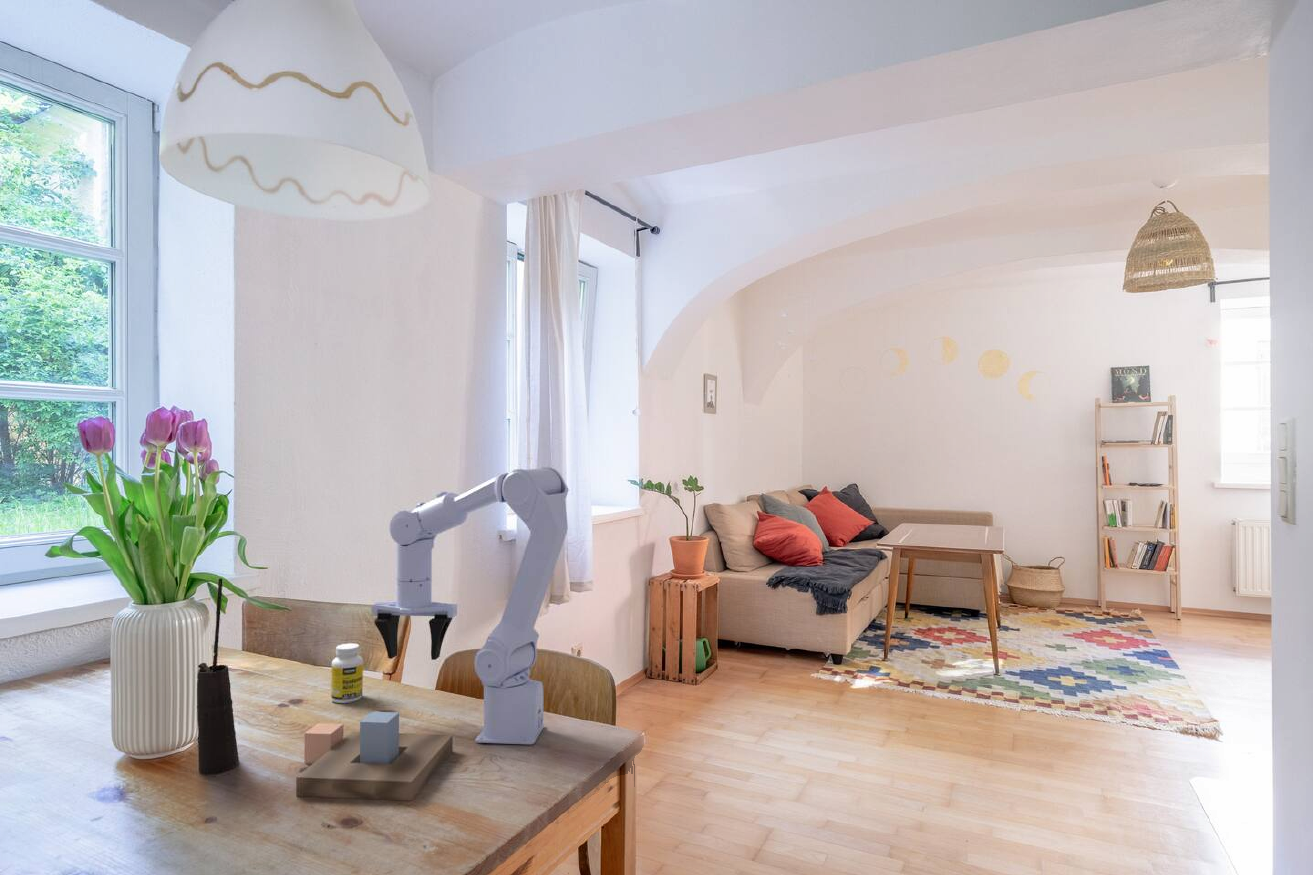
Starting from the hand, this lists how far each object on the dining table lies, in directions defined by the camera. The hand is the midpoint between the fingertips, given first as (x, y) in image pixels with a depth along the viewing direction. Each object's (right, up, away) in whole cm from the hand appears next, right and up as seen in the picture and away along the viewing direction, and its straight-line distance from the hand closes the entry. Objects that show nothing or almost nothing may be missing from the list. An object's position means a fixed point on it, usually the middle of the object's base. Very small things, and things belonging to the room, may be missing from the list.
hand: (414, 657), depth 131 cm
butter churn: (-24, -11, -19) cm, 32 cm away
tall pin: (+2, -11, -21) cm, 24 cm away
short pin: (-8, -11, -16) cm, 21 cm away
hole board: (+2, -10, -21) cm, 24 cm away
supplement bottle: (-15, -11, +9) cm, 21 cm away
